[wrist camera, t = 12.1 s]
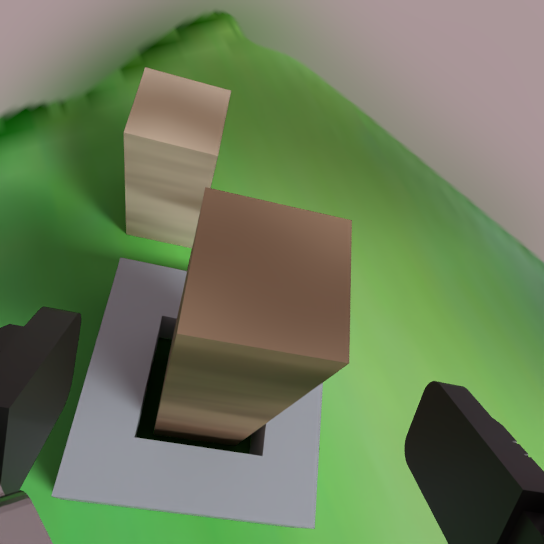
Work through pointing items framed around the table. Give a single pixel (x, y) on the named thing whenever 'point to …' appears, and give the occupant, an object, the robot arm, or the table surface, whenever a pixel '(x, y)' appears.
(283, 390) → the walnut peg
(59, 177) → the table surface
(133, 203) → the birch peg
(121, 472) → the socket block
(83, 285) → the table surface
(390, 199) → the table surface
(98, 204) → the table surface
